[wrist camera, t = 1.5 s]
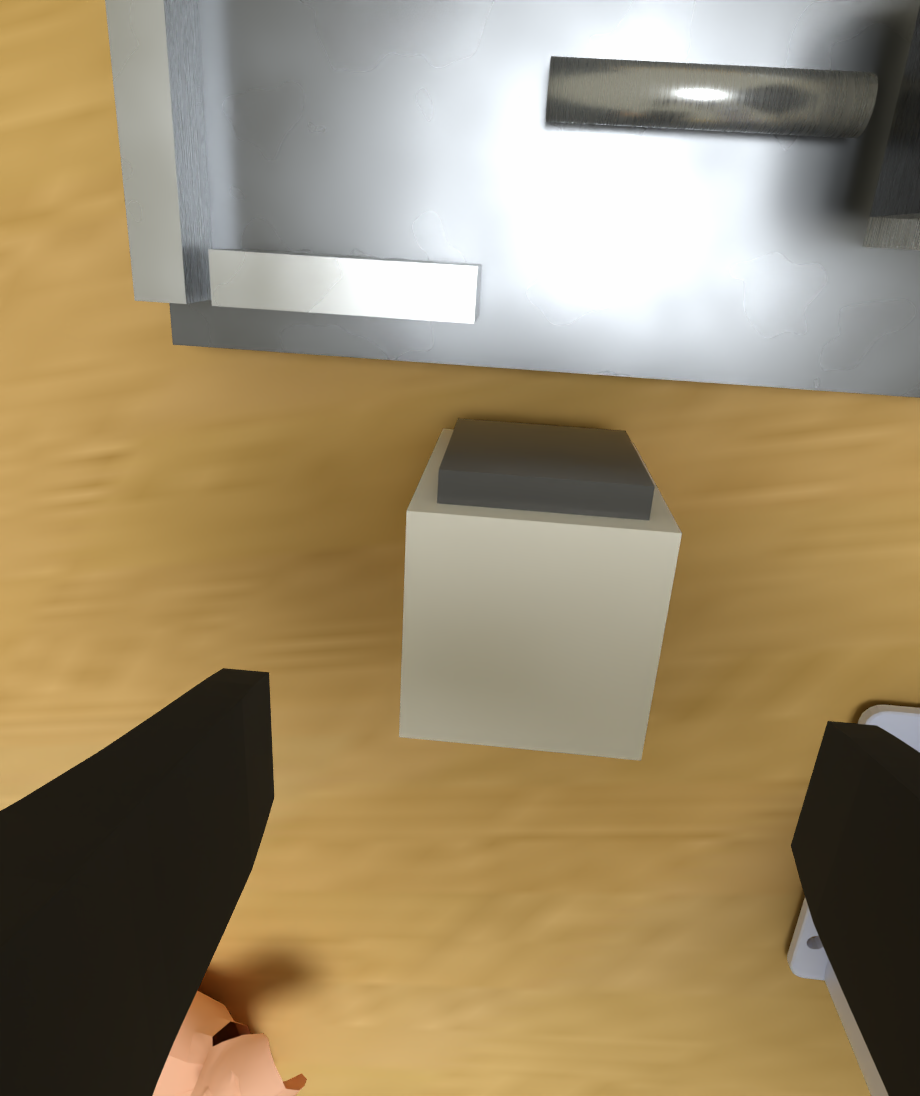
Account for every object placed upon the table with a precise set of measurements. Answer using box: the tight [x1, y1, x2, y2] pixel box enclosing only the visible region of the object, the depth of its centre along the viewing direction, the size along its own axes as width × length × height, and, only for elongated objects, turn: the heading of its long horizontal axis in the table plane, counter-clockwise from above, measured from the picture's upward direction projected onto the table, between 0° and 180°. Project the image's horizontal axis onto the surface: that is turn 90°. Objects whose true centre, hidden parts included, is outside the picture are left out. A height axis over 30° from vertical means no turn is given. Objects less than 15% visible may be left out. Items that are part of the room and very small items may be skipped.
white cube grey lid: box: [399, 418, 682, 761], centre depth 16 cm, size 5×4×6 cm
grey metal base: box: [105, 0, 920, 398], centre depth 12 cm, size 10×20×8 cm, turn 87°
